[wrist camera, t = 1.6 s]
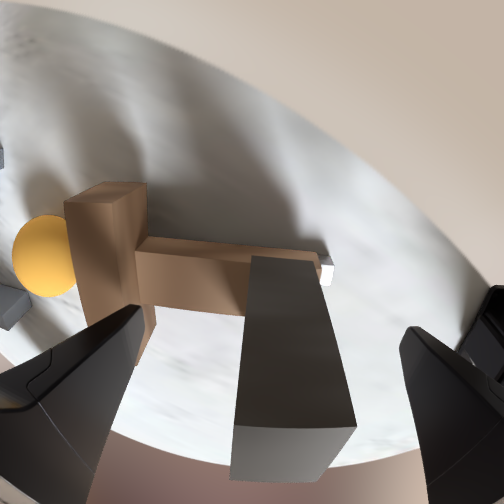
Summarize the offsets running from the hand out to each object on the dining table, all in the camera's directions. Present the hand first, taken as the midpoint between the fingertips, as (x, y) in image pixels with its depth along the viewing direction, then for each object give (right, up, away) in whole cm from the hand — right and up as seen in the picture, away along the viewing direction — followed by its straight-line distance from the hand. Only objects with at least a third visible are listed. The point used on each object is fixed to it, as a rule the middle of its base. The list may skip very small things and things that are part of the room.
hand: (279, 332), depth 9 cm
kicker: (-3, +2, +3) cm, 5 cm away
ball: (-11, +2, +3) cm, 11 cm away
